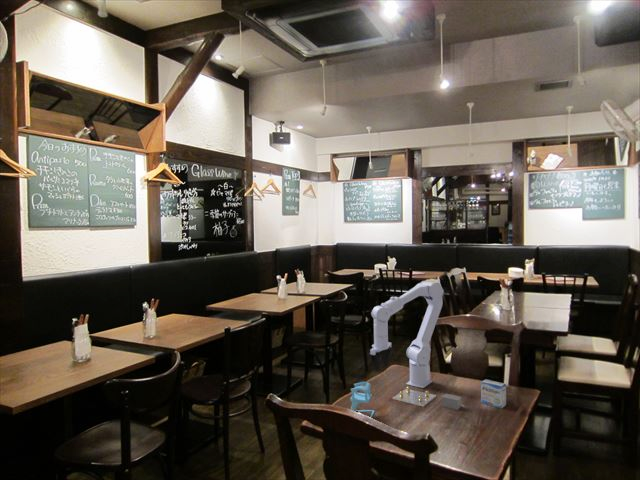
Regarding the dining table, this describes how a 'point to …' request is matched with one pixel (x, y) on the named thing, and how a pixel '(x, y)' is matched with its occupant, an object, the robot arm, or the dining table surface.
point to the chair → (361, 396)
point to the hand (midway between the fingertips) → (381, 368)
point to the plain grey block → (451, 401)
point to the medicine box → (493, 393)
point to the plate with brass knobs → (414, 397)
